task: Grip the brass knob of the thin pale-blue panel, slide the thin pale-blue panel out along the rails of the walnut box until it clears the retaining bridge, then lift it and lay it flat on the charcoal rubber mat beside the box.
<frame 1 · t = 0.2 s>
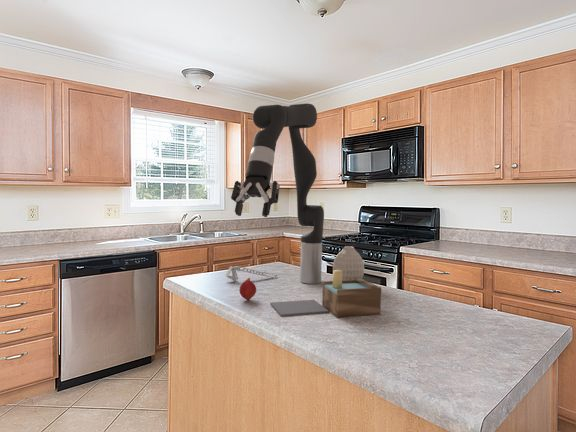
hand: (251, 215, 107), 31 cm above the counter, tool tilted 20°, fingers open, 8 cm apart
red oval lump: (247, 300, 130), on the counter
thin pale-blue panel: (349, 289, 120), point 7 cm above the counter, touching box
box: (350, 310, 121), on the counter
vase: (347, 287, 153), on the counter
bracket: (252, 280, 162), on the counter
mat: (298, 308, 122), on the counter
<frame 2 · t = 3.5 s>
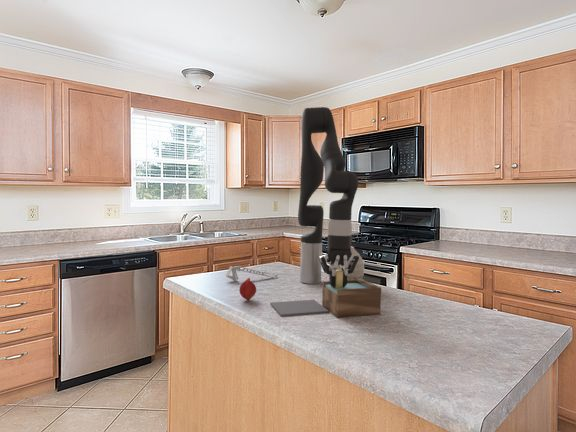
hand: (337, 286, 119), 8 cm above the counter, tool pointing down, fingers closed on thin pale-blue panel, 3 cm apart
thin pale-blue panel: (350, 289, 120), point 7 cm above the counter, touching box, gripper
everything else where it was.
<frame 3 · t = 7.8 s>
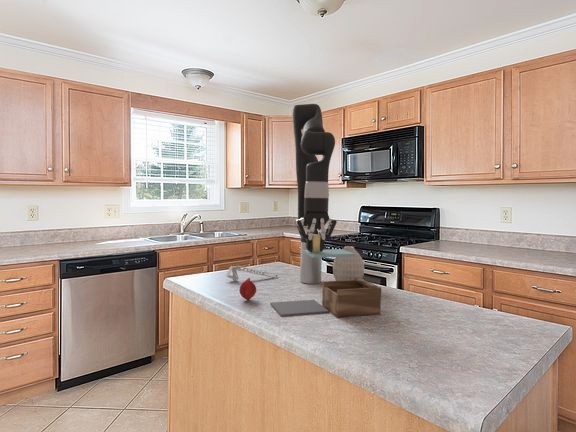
hand: (315, 251, 116), 20 cm above the counter, tool pointing down, fingers closed on thin pale-blue panel, 3 cm apart
thin pale-blue panel: (328, 254, 117), point 19 cm above the counter, touching gripper
everything else where it was.
when the fingers open (3 cm above the counter, at t = 12.0 s): thin pale-blue panel drops 2 cm, resting on mat.
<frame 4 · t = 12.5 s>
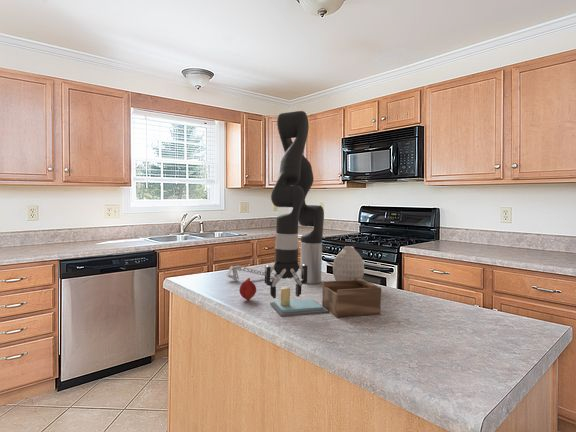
hand: (285, 296, 120), 4 cm above the counter, tool pointing down, fingers open, 7 cm apart
thin pale-blue panel: (298, 306, 122), point 1 cm above the counter, touching mat
everything else where it was.
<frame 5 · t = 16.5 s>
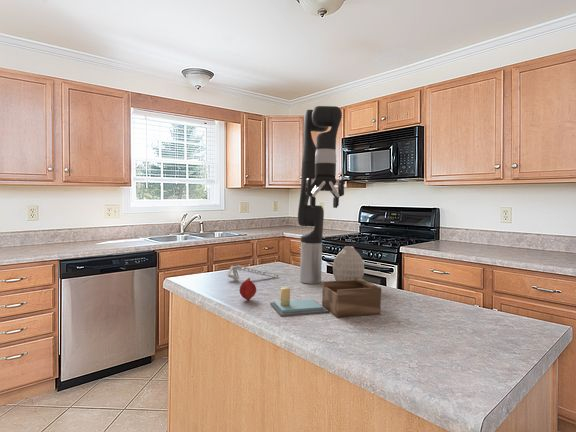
hand: (324, 207, 133), 33 cm above the counter, tool pointing down, fingers open, 8 cm apart
at the end: thin pale-blue panel inside the target area on the mat (0.2 cm from its centre), point 0.6 cm above the mat's base; thin pale-blue panel tilted 0°; the gripper is holding nothing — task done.
